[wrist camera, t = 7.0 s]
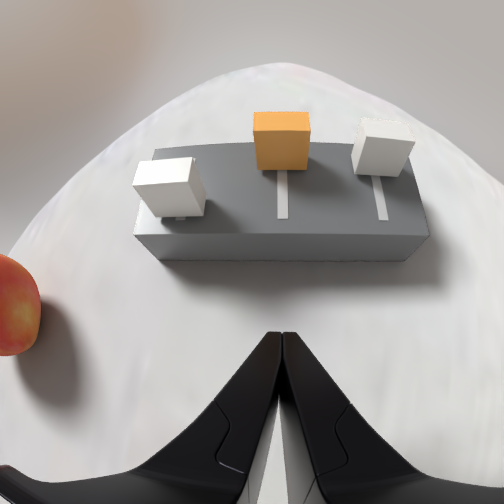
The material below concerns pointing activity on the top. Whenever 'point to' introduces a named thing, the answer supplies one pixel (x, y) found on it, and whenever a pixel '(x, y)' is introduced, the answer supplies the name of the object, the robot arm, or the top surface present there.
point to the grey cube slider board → (288, 210)
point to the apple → (17, 308)
